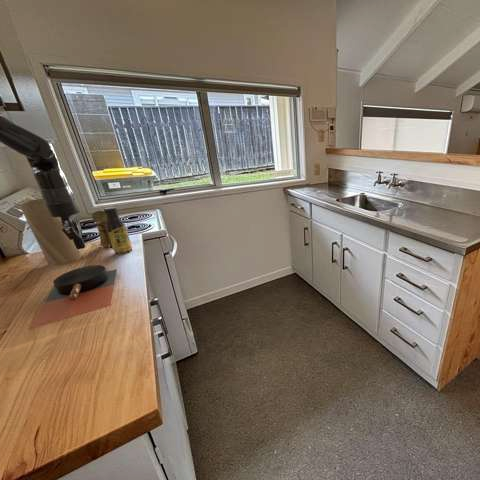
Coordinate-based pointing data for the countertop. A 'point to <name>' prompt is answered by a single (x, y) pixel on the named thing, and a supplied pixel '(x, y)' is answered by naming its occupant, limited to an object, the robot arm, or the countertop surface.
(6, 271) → the countertop surface
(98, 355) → the countertop surface
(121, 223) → the sauce bottle
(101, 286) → the board
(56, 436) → the countertop surface
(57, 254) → the tube
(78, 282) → the pan
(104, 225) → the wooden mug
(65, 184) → the robot arm
